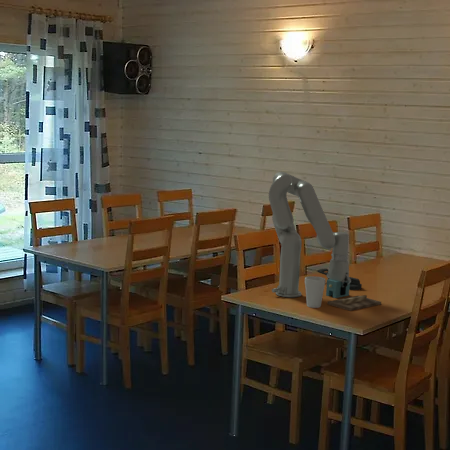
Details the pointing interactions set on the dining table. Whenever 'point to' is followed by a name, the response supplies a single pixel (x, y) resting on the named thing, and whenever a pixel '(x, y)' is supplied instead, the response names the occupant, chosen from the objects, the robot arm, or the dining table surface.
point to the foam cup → (314, 291)
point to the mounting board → (354, 303)
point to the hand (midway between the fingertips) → (337, 293)
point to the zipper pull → (353, 284)
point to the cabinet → (335, 288)
